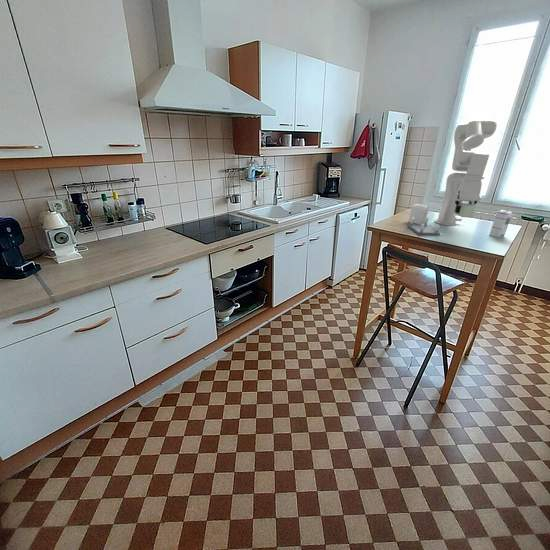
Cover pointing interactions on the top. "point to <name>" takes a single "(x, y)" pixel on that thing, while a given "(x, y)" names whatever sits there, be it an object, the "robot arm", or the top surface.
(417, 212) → the photo printer
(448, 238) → the top surface
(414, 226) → the standoff plate
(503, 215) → the syrup box
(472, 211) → the green block
